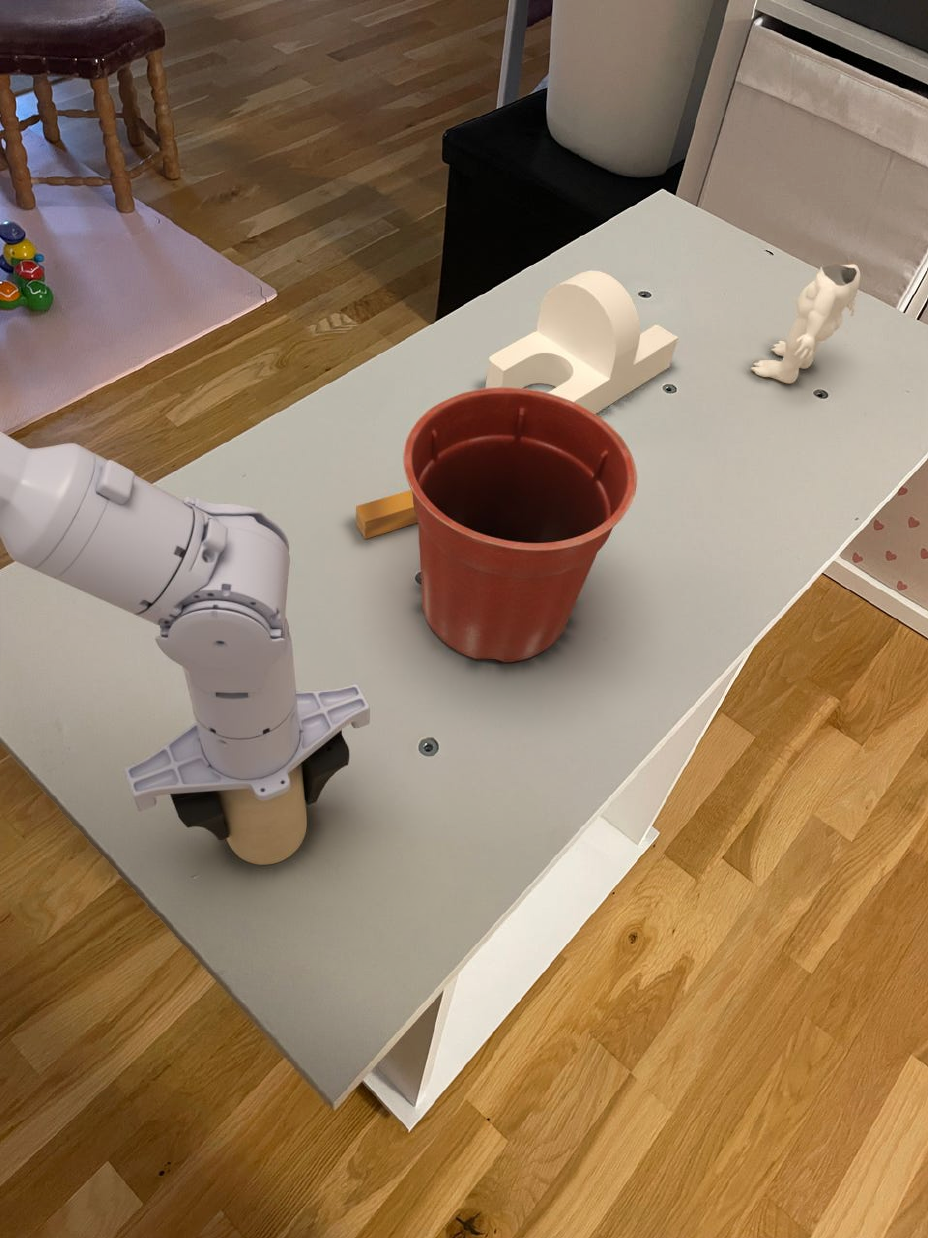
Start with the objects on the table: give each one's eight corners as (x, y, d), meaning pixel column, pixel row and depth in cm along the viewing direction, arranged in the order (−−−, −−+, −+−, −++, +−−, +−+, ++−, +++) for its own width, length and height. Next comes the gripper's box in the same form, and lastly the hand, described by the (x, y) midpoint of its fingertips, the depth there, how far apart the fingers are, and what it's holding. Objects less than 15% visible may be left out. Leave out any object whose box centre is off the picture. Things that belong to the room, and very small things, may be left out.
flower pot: (595, 544, 87) (635, 400, 74) (594, 699, 77) (640, 562, 64) (409, 522, 87) (417, 374, 74) (384, 674, 77) (388, 532, 64)
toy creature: (787, 332, 109) (828, 232, 100) (837, 356, 107) (883, 257, 98) (735, 382, 103) (773, 280, 94) (787, 408, 101) (831, 307, 92)
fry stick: (365, 539, 85) (365, 521, 83) (355, 523, 86) (355, 506, 84) (506, 495, 90) (509, 477, 88) (496, 480, 91) (498, 463, 89)
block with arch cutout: (599, 322, 108) (620, 228, 99) (669, 367, 104) (697, 273, 95) (482, 388, 99) (493, 292, 90) (553, 440, 95) (573, 344, 86)
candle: (314, 798, 70) (308, 722, 62) (298, 871, 66) (290, 801, 58) (236, 787, 70) (220, 711, 62) (216, 860, 66) (197, 789, 58)
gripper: (134, 803, 50) (173, 906, 61) (393, 705, 55) (387, 817, 66) (97, 698, 54) (140, 812, 65) (343, 615, 59) (346, 734, 70)
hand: (263, 809), depth 66 cm, fingers closed on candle, 5 cm apart
